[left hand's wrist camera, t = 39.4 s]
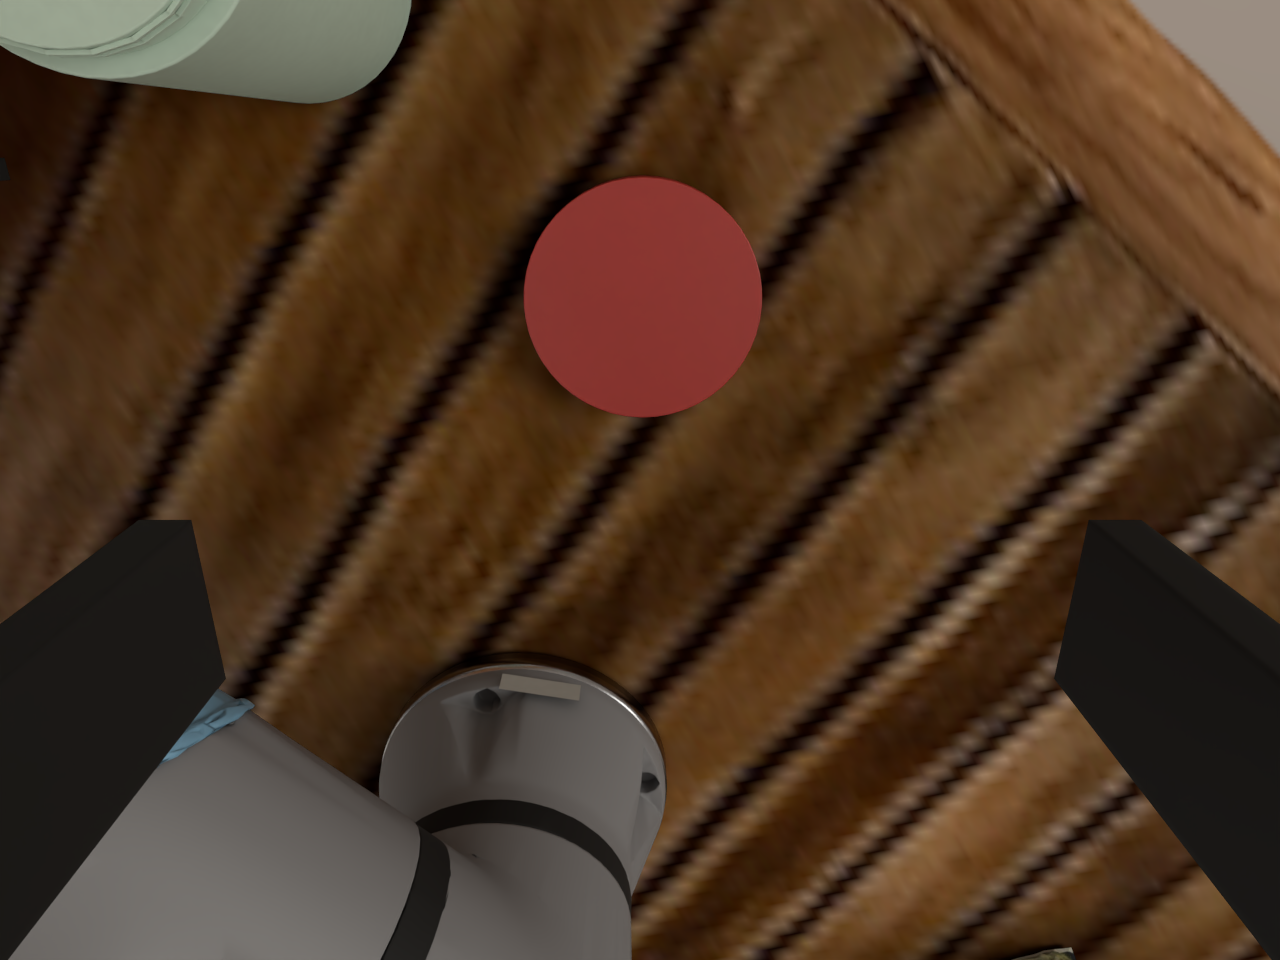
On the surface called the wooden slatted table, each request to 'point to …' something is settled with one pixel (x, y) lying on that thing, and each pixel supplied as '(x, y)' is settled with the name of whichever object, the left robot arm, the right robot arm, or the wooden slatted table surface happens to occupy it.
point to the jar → (212, 43)
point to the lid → (642, 296)
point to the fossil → (1051, 955)
